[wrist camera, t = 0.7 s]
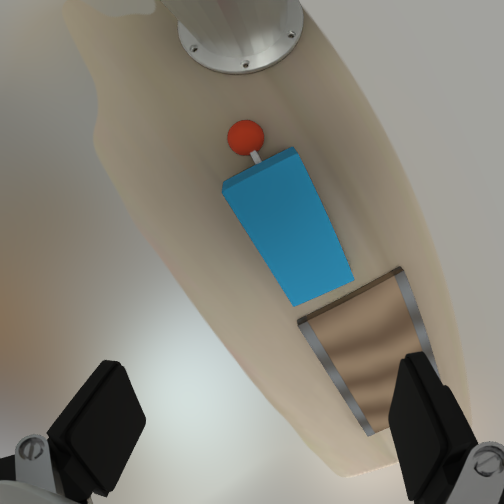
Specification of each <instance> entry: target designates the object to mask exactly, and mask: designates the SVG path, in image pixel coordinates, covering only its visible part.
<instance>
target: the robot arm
mask: <svg viewBox="0 0 504 504" xmlns="http://www.w3.org/2000/svg"><path fill="white" fill-rule="evenodd" d="M160 1H161V2H162V3H163V4H164V5H165V6H166V7H167V8H168V9H169V10H170V11H171V12H172V13H173V14H174V16H175V17H176V18H177V19H178V34H179V39H180V41H181V44H182V46H183V48H184V49H185V50H186V52H187V53H188V54H189V55H190V56H191V57H192V58H193V59H194V60H195V61H196V62H198V63H199V64H201V65H202V66H204V67H206V68H208V69H211V70H213V71H217V72H221V73H225V74H247V73H253V72H257V71H261V70H264V69H266V68H268V67H270V66H273V65H274V64H276V63H278V62H279V61H281V60H282V59H284V58H285V57H286V56H287V55H288V54H289V53H290V52H291V51H292V50H293V48H294V47H295V45H296V44H297V43H298V40H299V38H300V36H301V33H302V28H303V11H302V6H301V4H300V2H299V0H160ZM290 35H291V36H293V37H294V38H289V36H290ZM195 49H198V50H197V51H196V52H194V50H195ZM245 64H248V67H247V68H244V67H243V66H244V65H245ZM388 423H389V427H390V430H391V434H392V437H393V441H394V444H395V448H396V452H397V456H398V459H399V463H400V467H401V471H402V475H403V479H404V483H405V487H406V492H407V496H408V499H409V500H410V501H413V500H414V504H504V446H503V445H502V444H499V443H497V442H490V441H489V442H483V443H481V444H478V442H477V440H476V438H475V436H474V434H473V432H472V430H471V428H470V426H469V424H468V422H467V420H466V418H465V416H464V414H463V412H462V410H461V408H460V406H459V404H458V403H457V401H456V399H455V397H454V395H453V393H452V392H451V390H450V388H449V387H448V386H446V385H444V386H443V384H442V382H441V381H440V379H439V377H438V375H437V373H436V372H435V370H434V368H433V366H432V365H431V363H430V361H429V359H428V358H427V356H426V354H425V353H424V352H423V351H420V352H414V353H408V354H406V356H405V358H404V359H401V360H400V364H399V369H398V374H397V379H396V384H395V388H394V393H393V397H392V402H391V406H390V410H389V414H388ZM145 424H146V417H145V415H144V413H143V410H142V408H141V406H140V404H139V401H138V399H137V397H136V394H135V392H134V390H133V387H132V385H131V382H130V380H129V377H128V375H127V372H126V370H125V368H124V367H123V366H122V365H121V364H120V362H118V361H110V360H104V361H102V362H101V363H100V365H99V366H98V367H97V368H96V370H95V371H94V372H93V373H92V375H91V376H90V377H89V378H88V380H87V381H86V382H85V383H84V385H83V386H82V387H81V388H80V390H79V391H78V392H77V394H76V395H75V396H74V397H73V399H72V400H71V401H70V402H69V404H68V405H67V406H66V408H65V409H64V410H63V412H62V413H61V414H60V415H59V417H58V418H57V419H56V421H55V422H54V423H53V425H52V426H51V427H50V429H49V430H48V431H47V434H48V436H49V438H48V439H47V440H46V439H45V438H44V437H43V436H41V435H36V434H33V435H29V436H26V437H24V438H23V439H21V440H20V441H19V443H18V444H17V446H16V449H15V455H11V456H8V457H4V458H0V504H93V502H92V499H91V494H92V492H94V493H95V494H98V495H101V496H104V497H107V496H108V493H109V492H111V491H113V490H114V488H115V486H116V484H117V482H118V480H119V478H120V476H121V474H122V472H123V470H124V467H125V465H126V463H127V461H128V459H129V457H130V455H131V453H132V451H133V449H134V447H135V445H136V443H137V441H138V439H139V437H140V435H141V433H142V431H143V429H144V427H145Z"/></svg>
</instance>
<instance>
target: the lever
mask: <svg viewBox="0 0 504 504" xmlns="http://www.w3.org/2000/svg"><path fill="white" fill-rule="evenodd" d="M263 142H264V134H263V131H262V129H261V127H260V126H259V125H258V124H256V123H255V122H253V121H250V120H242V121H239V122H237V123H235V124H234V125H233V126H232V127H231V128H230V130H229V132H228V143H229V146H230V147H231V149H232V150H233V151H234V152H236V153H237V154H239V155H251V156H252V158H253V160H254V162H255V164H256V165H254V166H252V167H250V168H248V169H246V170H245V171H243V172H241V173H239V174H237V175H235V176H233V177H231V178H229V179H228V180H226V181H224V182H223V187H222V194H223V196H224V197H225V199H226V200H227V202H228V203H229V205H230V207H231V208H232V210H233V211H234V213H235V215H236V216H237V218H238V219H239V221H240V222H241V224H242V226H243V227H244V229H245V230H246V232H247V234H248V235H249V237H250V238H251V240H252V241H253V243H254V245H255V246H256V248H257V249H258V251H259V253H260V254H261V256H262V257H263V259H264V260H265V262H266V264H267V265H268V267H269V268H270V270H271V272H272V273H273V275H274V276H275V278H276V280H277V281H278V283H279V284H280V286H281V288H282V289H283V291H284V292H285V294H286V296H287V297H288V299H289V300H290V302H291V304H292V305H293V306H294V307H295V306H297V305H299V304H302V303H304V302H306V301H309V300H311V299H313V298H316V297H318V296H320V295H322V294H325V293H327V292H329V291H331V290H334V289H336V288H338V287H340V286H343V285H345V284H347V283H349V282H351V281H354V277H353V274H352V272H351V269H350V267H349V264H348V262H347V260H346V257H345V255H344V252H343V250H342V248H341V245H340V243H339V241H338V238H337V236H336V234H335V231H334V229H333V227H332V225H331V222H330V220H329V218H328V216H327V213H326V211H325V209H324V207H323V205H322V202H321V200H320V198H319V196H318V194H317V192H316V189H315V187H314V185H313V183H312V181H311V179H310V177H309V175H308V173H307V171H306V169H305V167H304V165H303V163H302V161H301V159H300V157H299V155H298V153H297V151H296V150H295V148H294V147H290V148H288V149H286V150H284V151H282V152H280V153H278V154H276V155H274V156H272V157H270V158H268V159H266V160H264V161H262V160H261V158H260V156H259V155H258V153H257V151H258V150H259V149H260V148H261V147H262V145H263Z"/></svg>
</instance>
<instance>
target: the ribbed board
mask: <svg viewBox="0 0 504 504" xmlns="http://www.w3.org/2000/svg"><path fill="white" fill-rule="evenodd" d="M297 324H298V327H299V329H300V331H301V332H302V334H303V335H304V337H305V338H306V340H307V342H308V343H309V345H310V346H311V348H312V350H313V351H314V353H315V354H316V356H317V357H318V359H319V361H320V362H321V364H322V365H323V367H324V368H325V370H326V372H327V373H328V375H329V376H330V378H331V379H332V381H333V383H334V384H335V386H336V387H337V389H338V390H339V392H340V394H341V395H342V397H343V398H344V400H345V401H346V403H347V405H348V406H349V408H350V409H351V411H352V413H353V414H354V416H355V417H356V419H357V420H358V422H359V424H360V425H361V427H362V428H363V430H364V431H365V433H366V435H367V436H371V435H373V434H375V433H377V432H379V431H382V430H384V429H386V428H389V423H388V414H389V410H390V406H391V402H392V397H393V393H394V388H395V384H396V379H397V374H398V369H399V364H400V360H401V359H404V358H405V356H406V354H408V353H414V352H420V351H423V352H424V353H425V354H426V356H427V358H428V359H429V361H430V363H431V365H432V366H433V368H434V370H435V372H436V373H437V375H438V377H439V379H440V376H439V373H438V369H437V365H436V362H435V358H434V355H433V352H432V348H431V345H430V342H429V339H428V336H427V333H426V329H425V326H424V323H423V320H422V318H421V315H420V312H419V309H418V306H417V303H416V301H415V298H414V295H413V292H412V290H411V287H410V285H409V282H408V279H407V277H406V274H405V272H404V270H403V269H402V268H401V267H398V268H396V269H394V270H393V271H391V272H389V273H387V274H385V275H384V276H382V277H380V278H378V279H376V280H375V281H373V282H371V283H369V284H367V285H365V286H363V287H362V288H360V289H358V290H356V291H354V292H352V293H350V294H348V295H346V296H345V297H343V298H341V299H339V300H337V301H335V302H333V303H331V304H329V305H327V306H325V307H323V308H321V309H319V310H317V311H315V312H313V313H311V314H309V315H307V316H305V317H303V318H301V319H298V320H297ZM440 381H441V380H440Z"/></svg>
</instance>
